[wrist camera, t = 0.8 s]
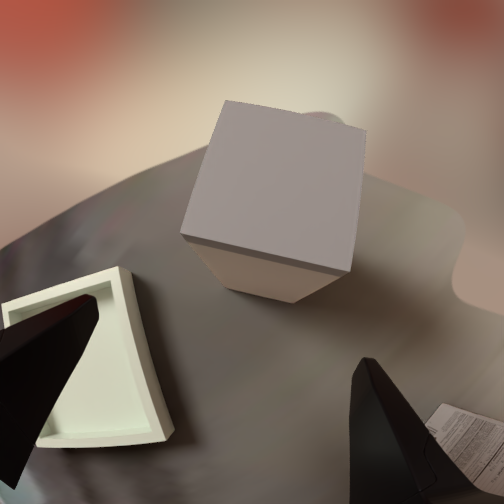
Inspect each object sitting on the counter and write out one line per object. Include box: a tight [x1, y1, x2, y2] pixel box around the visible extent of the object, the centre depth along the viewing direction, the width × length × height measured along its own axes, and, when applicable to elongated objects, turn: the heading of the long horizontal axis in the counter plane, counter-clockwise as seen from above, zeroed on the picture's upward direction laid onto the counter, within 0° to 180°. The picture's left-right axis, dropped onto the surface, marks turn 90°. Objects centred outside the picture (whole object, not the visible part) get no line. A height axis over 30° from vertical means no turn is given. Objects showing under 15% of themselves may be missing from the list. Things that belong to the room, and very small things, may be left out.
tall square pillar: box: [180, 100, 366, 303], centre depth 16 cm, size 5×5×14 cm
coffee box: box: [425, 403, 504, 496], centre depth 11 cm, size 9×6×16 cm
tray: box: [2, 266, 175, 448], centre depth 20 cm, size 13×13×2 cm
